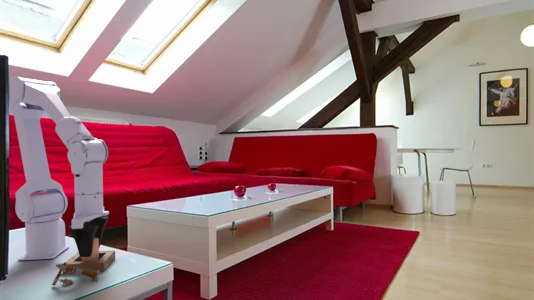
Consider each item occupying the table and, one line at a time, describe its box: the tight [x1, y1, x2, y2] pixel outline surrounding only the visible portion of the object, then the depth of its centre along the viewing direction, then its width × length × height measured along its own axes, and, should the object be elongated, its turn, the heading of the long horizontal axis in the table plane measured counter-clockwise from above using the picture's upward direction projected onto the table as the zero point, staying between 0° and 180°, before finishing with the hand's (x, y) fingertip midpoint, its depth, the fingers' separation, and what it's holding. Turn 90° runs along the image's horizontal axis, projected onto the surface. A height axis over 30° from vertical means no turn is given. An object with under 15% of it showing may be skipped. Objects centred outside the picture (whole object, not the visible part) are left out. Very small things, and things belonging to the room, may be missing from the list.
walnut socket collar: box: [61, 250, 116, 274], centre depth 79 cm, size 8×8×2 cm
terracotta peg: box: [82, 238, 100, 261], centre depth 79 cm, size 4×4×6 cm
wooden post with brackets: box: [51, 261, 100, 286], centre depth 69 cm, size 2×8×4 cm, turn 118°
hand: (90, 252), depth 79 cm, fingers open, 5 cm apart
